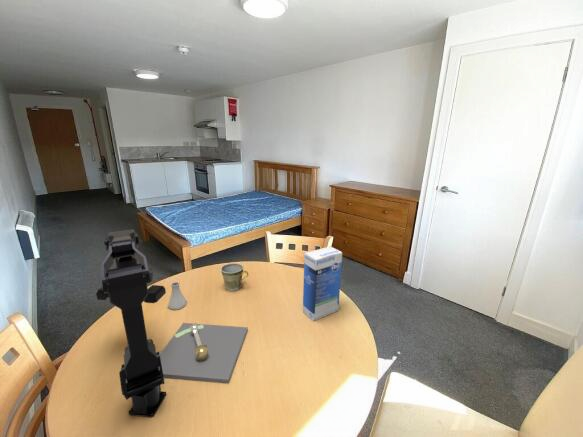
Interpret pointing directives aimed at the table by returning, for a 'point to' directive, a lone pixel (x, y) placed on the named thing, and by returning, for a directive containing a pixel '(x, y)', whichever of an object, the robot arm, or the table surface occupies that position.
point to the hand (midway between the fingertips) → (135, 316)
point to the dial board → (221, 353)
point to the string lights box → (321, 282)
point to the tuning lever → (198, 344)
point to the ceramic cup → (233, 276)
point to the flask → (176, 298)
